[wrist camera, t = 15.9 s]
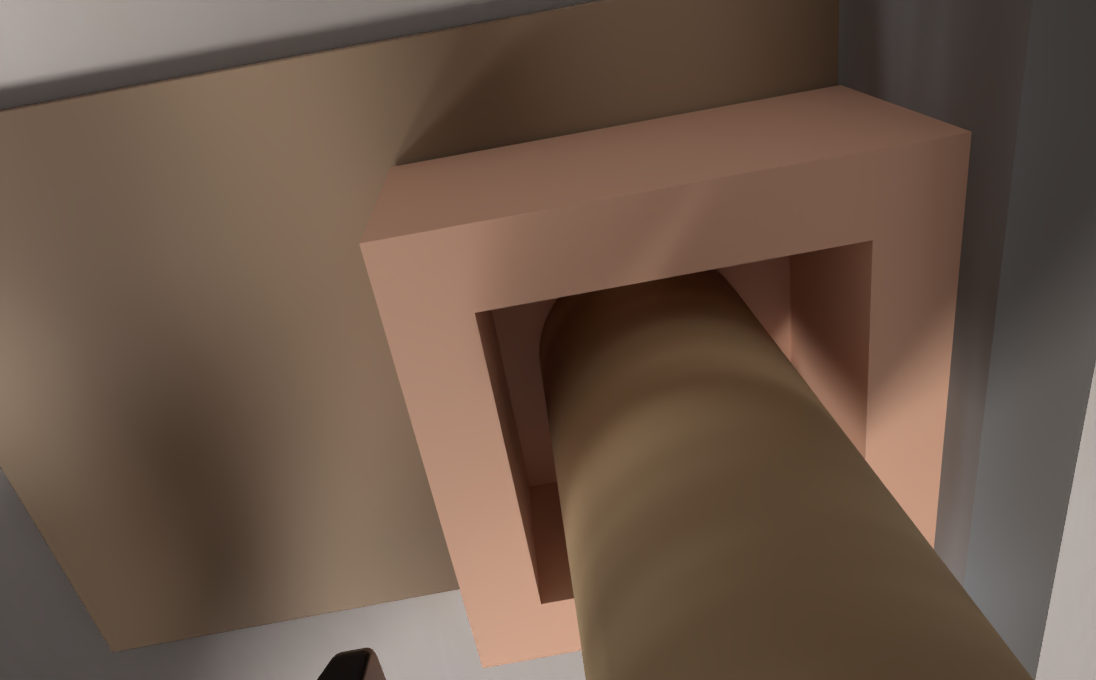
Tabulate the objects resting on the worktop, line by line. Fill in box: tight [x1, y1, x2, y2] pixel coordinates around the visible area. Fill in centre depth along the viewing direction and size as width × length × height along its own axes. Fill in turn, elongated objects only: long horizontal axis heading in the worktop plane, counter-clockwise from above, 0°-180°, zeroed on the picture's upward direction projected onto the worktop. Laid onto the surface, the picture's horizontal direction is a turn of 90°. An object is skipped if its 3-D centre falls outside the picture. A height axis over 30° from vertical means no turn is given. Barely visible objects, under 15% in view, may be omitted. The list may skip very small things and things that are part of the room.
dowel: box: [539, 269, 1033, 680], centre depth 10 cm, size 4×4×10 cm
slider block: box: [359, 85, 972, 668], centre depth 13 cm, size 8×8×4 cm
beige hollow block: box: [0, 0, 1096, 680], centre depth 13 cm, size 20×12×6 cm, turn 99°
